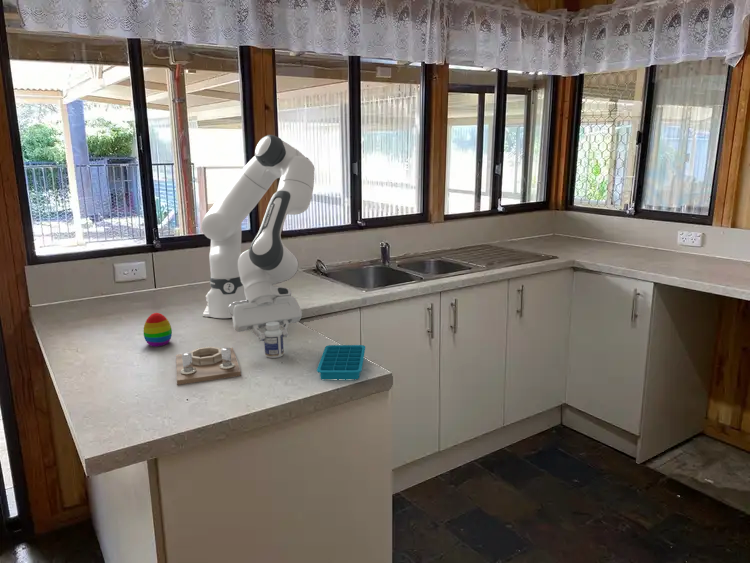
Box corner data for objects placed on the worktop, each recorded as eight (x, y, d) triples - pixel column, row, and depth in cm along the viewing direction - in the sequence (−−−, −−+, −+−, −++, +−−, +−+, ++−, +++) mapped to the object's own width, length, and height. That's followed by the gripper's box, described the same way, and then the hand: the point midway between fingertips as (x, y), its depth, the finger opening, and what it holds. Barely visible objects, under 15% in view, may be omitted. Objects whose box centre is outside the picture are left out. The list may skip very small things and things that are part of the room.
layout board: (176, 358, 161) (175, 348, 160) (233, 351, 166) (232, 341, 166) (177, 384, 143) (176, 373, 142) (240, 375, 148) (240, 364, 147)
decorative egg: (178, 341, 176) (175, 311, 173) (156, 349, 169) (153, 318, 167) (161, 338, 180) (157, 308, 177) (139, 345, 173) (135, 314, 171)
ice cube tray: (316, 382, 144) (316, 371, 143) (326, 354, 163) (325, 345, 163) (361, 382, 143) (361, 371, 142) (365, 354, 163) (365, 345, 162)
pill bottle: (275, 350, 166) (273, 319, 164) (287, 354, 163) (285, 322, 161) (261, 355, 162) (259, 323, 160) (273, 360, 159) (271, 327, 157)
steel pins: (180, 370, 149) (178, 352, 148) (233, 362, 154) (232, 345, 153) (180, 375, 146) (178, 357, 144) (235, 368, 150) (234, 350, 149)
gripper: (228, 297, 160) (240, 339, 154) (295, 288, 169) (309, 327, 163) (225, 308, 165) (236, 349, 158) (291, 299, 174) (304, 337, 168)
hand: (274, 338), depth 161 cm, fingers closed on pill bottle, 5 cm apart
